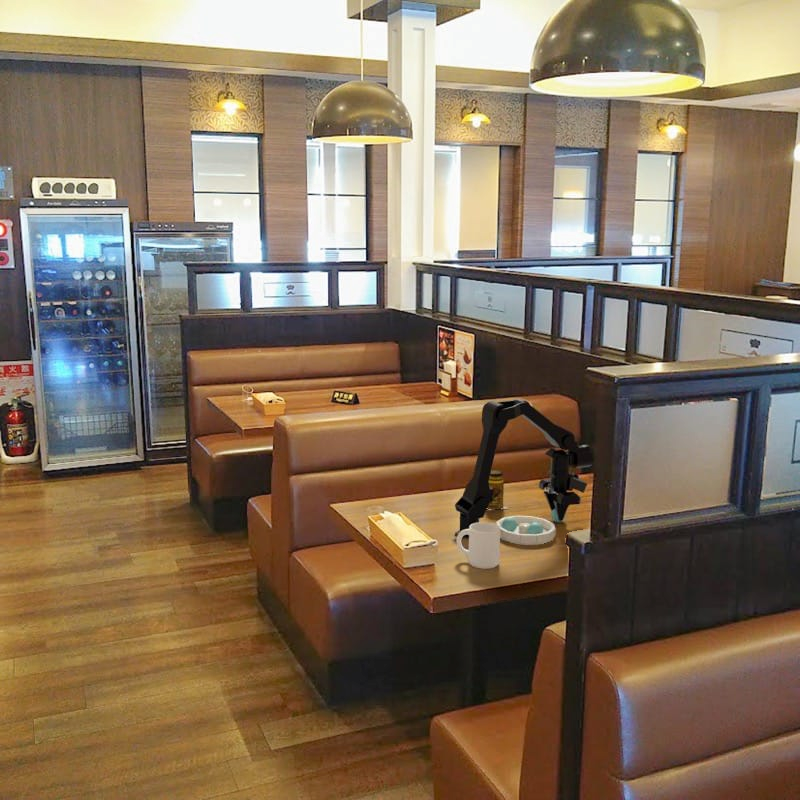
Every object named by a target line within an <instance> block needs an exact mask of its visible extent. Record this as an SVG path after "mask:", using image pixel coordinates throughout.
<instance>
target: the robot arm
mask: <svg viewBox="0 0 800 800" xmlns="http://www.w3.org/2000/svg"><path fill="white" fill-rule="evenodd" d="M520 416H522V417H523V418H524V419H525V420H527V421H528V422H530V424H532V425H533V426H534V427H536V428H537V429H538V430H539V431H541V432H542V434H543V435H544V437H545V439H546V440H547V441H548V443H550V444H551V445H552V446H554V447H556V448H559V449H556V448H553V447H550V448H549V449H548V450H547V451H546V452H545V453H544V454H545V456H548V457H550V458H551V462H550V470H548V471H547V472H548V473H547V474H548V476H550V478H541V479H540V481H539V482H538V488H539V489H540V490H542V491H543V492H542V493H543V494H544V496H545V499H546V502H547V504H548V506H549V508H550V511H551V512H552V510H553V509H555V508H556V511H557V515H558V519H559V521H561V522H563V521H564V520H563V518H564V516H565V517H566V513H567V512H568V508H569V507H570V506H571V505H573V506H574V505H580V504H581V496H579V494H577V493H576V492H574V491H573V490H576V491H579V492H580V493H582V494H584V493H585V492H586V489H587V487H588V482H586V480H585V481H584V480H583V479H581V478H580V477H579V475H578V474H577V473H575V472H572V473H571V472H570V471H571V467H572V468H573V469H580V468H587V467H589V468H590V467H591V466H593V464H594V463H595V462H594V461H595V457H594V454H593V452H592V450H591V445H589V444H582V445H578V443H577V441H576V440H575V439H576V436H575V434H574V433H573V432H572V431H570V430H568V429H566V428H564V427H561V426H560V425H557V424H555V423H554V422H552V420H550V419H548V417H546V416H545V415H544V414H542V413H541V412H540V411H539V410H537V409H536V408H535V407H534V406H533V405H531V403H529V401H527V400H524V399H522V398H516V399H512V400H502V401H501V400H499V401H494V400H490V401H487V402H486V403H485V404H484V405H483V407H482V409H481V425H482V431H483V432H482V435H481V439H480V440H481V441H480V445H479V448H478V449H479V450H478V453H477V457H476V463H475V467H474V471H473V474H472V475H473V476H472V478H471V479H470V480H469V482H468V483H467V484H466V486H465V487H464V492H463V493H462V496H461V497H460V498H459V499H458V501H457V502H456V503H455V504H454V507H455V511H456V512H458V513H459V530H457V531H456V532H454V535H455V536H458V534H459V533H460V532H461V531H462V530H465V529H469V526H470V525H471V524H473V523H478V522H480V519H482V518H484V516H485V514H486V511H487V510H486V509H487V508H488V507H489V504H490V503H492V496H493V493H494V489H493V488H491V487H490V486H489V478H490V474H491V470H493V465H494V464H493V463H494V460H495V455H496V452H497V447H498V443H499V439H500V435H501V434H502V433H503V431H504V430H505V429H506V427H507V425H508V423H509V421H511V420H514V419H517V418H518V417H520ZM564 519H565V518H564ZM562 520H563V521H562ZM463 537H464V538H467V539H469V535H464V536H463ZM463 537H462V538H463Z"/></svg>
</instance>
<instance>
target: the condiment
mask: <svg viewBox="0 0 800 800" xmlns="http://www.w3.org/2000/svg"><path fill="white" fill-rule="evenodd" d="M503 478H504V473H503V471H502V470H499V469H492V470H491V474H490V478H489V486H490V487H491V488H493V489H494V493H493V496H492V503H490V504H489V507H488V509H501V508H503V509H501V510H507V509H509V507H507V506H506V505H505V504H504V492H505V491H504V489H505V488H504V487H505V486H504V485H505V484H504V483H505V482H504V481H505V480H504V479H503ZM487 511H489V512H490V510H487Z"/></svg>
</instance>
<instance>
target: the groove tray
mask: <svg viewBox="0 0 800 800" xmlns="http://www.w3.org/2000/svg"><path fill="white" fill-rule="evenodd" d="M508 517H511V518H513V519H515V520H516V522H517V528H516V529H515V531H513V532H510V531H507V530H505V529H504V528H503V527H502V522H503V520H504V519H505V518H508ZM532 523H539V524H541V525H542V527H543V533H540V534H529V533H528V527H529V525H530V524H532ZM495 524H496V525H498V526H499V527H500V540H502V541H504V542H506V543H509V542H510V544H513V543H514V544H515V545H520V546H521V545H522V546H539V545H540V544H541V545H545V544H544V543H546V544H548V543H547V542H549V543H551V542H552V541H554V539H555V536H556V530H557V529H556V527H555V524H554V523H553V522H552V521H549V520H548V519H545V518H542V517H537V516H531V515H510V516H505V517H502V518H500V519H498V520H497V521H496V522H495ZM551 540H552V541H551ZM550 541H551V542H550ZM514 544H513V545H514Z"/></svg>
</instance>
